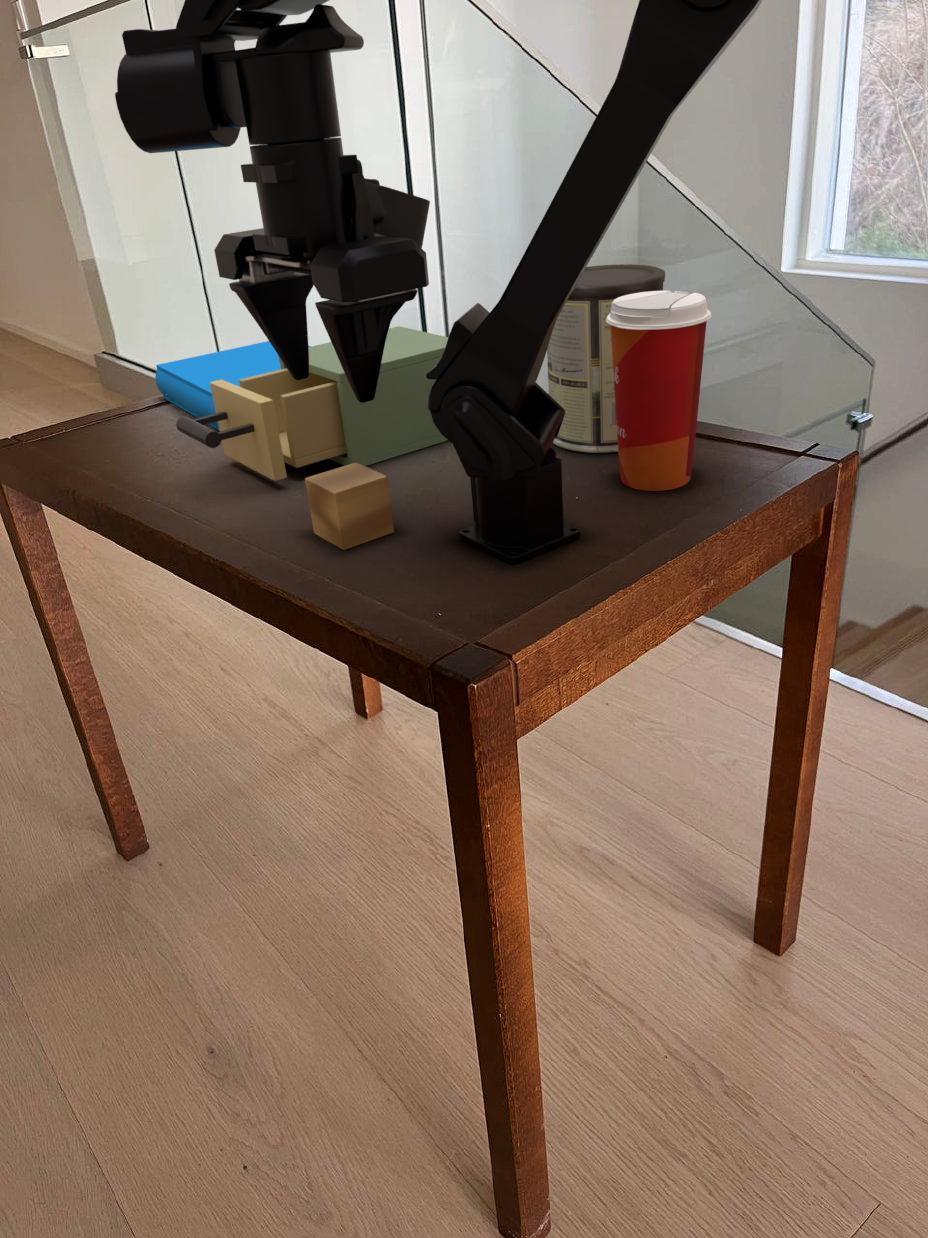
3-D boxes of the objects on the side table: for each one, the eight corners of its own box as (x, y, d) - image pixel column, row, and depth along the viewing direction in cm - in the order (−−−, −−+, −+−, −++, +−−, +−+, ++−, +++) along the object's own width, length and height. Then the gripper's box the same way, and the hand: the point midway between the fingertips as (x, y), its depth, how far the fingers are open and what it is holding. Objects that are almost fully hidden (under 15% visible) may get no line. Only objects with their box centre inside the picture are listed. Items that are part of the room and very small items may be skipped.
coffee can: (597, 411, 94) (595, 260, 87) (684, 429, 87) (690, 267, 80) (524, 440, 88) (516, 280, 81) (612, 462, 81) (611, 289, 74)
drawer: (225, 496, 79) (208, 416, 75) (178, 467, 86) (161, 393, 83) (397, 444, 87) (388, 369, 84) (340, 421, 94) (330, 353, 91)
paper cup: (644, 455, 82) (646, 285, 75) (723, 473, 76) (732, 292, 70) (586, 483, 77) (583, 305, 70) (666, 504, 72) (670, 314, 65)
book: (284, 337, 118) (385, 366, 99) (290, 372, 120) (391, 407, 101) (149, 365, 110) (232, 403, 91) (158, 402, 112) (241, 447, 93)
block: (394, 532, 71) (387, 475, 69) (343, 550, 69) (334, 493, 67) (363, 516, 75) (356, 461, 73) (313, 533, 73) (304, 477, 70)
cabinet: (353, 470, 84) (339, 373, 80) (293, 442, 93) (277, 353, 89) (475, 432, 91) (468, 341, 87) (408, 409, 99) (399, 325, 95)
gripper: (489, 125, 56) (505, 386, 64) (333, 133, 70) (361, 347, 77) (325, 144, 51) (363, 426, 58) (191, 148, 64) (236, 377, 72)
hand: (332, 389), depth 67 cm, fingers open, 9 cm apart
